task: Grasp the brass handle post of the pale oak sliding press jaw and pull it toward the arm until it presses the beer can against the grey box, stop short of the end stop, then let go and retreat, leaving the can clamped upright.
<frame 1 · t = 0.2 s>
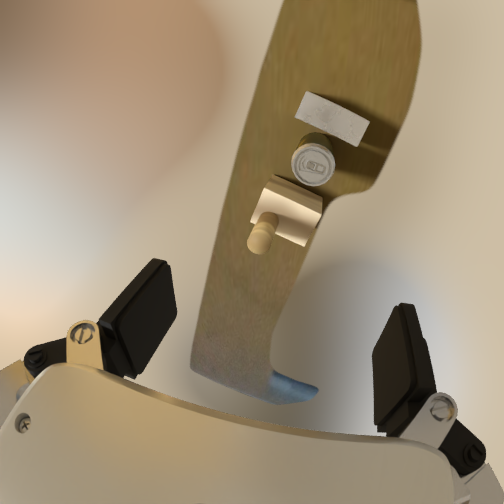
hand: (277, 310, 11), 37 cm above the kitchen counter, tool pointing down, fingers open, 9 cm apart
ram: (285, 218, 41), point 7 cm above the kitchen counter, slide at 0.0 cm
grey box: (331, 115, 38), on the kitchen counter
beer can: (315, 148, 42), on the kitchen counter
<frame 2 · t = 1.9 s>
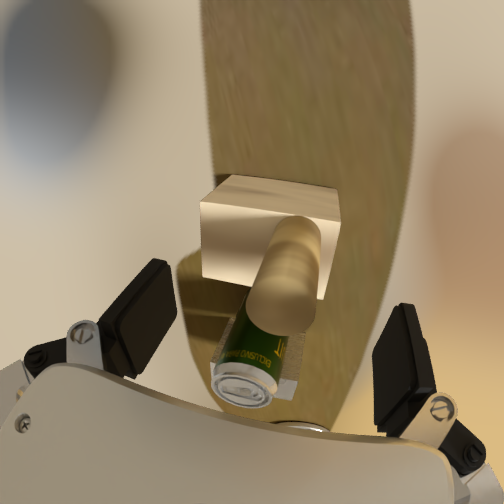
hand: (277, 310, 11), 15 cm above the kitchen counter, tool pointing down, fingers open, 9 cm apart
ram: (264, 252, 19), point 7 cm above the kitchen counter, slide at 0.0 cm
grey box: (266, 336, 33), on the kitchen counter
beer can: (271, 298, 30), on the kitchen counter
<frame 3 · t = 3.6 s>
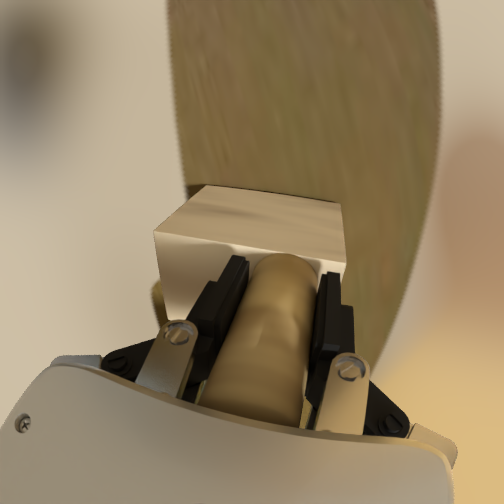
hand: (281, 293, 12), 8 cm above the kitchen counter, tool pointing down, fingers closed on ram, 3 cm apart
ram: (241, 298, 14), point 7 cm above the kitchen counter, slide at 0.0 cm, touching gripper
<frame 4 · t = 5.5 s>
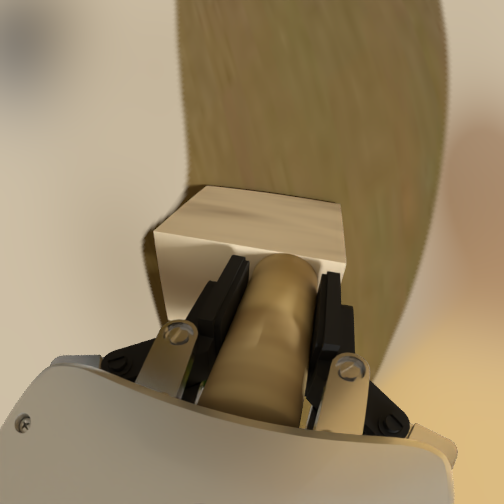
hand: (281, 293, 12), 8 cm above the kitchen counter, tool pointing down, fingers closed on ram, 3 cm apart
ram: (241, 298, 14), point 7 cm above the kitchen counter, slide at 5.5 cm, touching beer can, gripper
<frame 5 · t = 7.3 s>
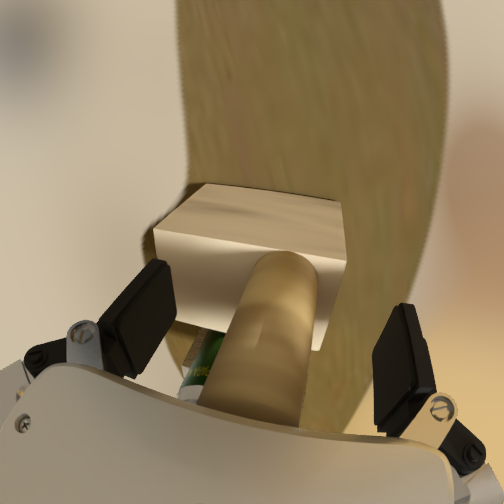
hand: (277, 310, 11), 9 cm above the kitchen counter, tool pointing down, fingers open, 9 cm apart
ram: (241, 296, 14), point 7 cm above the kitchen counter, slide at 5.5 cm
grey box: (259, 331, 25), on the kitchen counter
beer can: (264, 290, 23), on the kitchen counter
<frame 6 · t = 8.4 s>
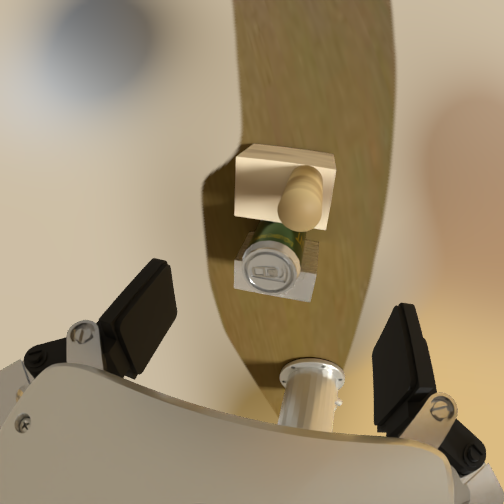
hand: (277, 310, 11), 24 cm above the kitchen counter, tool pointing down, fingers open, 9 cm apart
ram: (282, 193, 26), point 7 cm above the kitchen counter, slide at 5.5 cm
grey box: (282, 249, 37), on the kitchen counter
beer can: (286, 215, 35), on the kitchen counter
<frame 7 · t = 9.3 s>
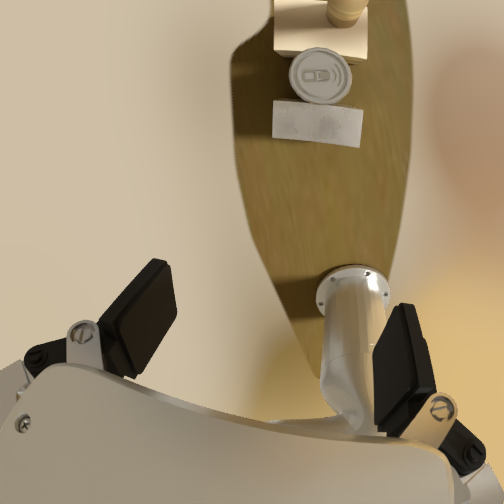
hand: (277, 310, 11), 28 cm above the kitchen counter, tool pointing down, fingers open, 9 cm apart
ram: (321, 25, 19), point 7 cm above the kitchen counter, slide at 5.5 cm
grey box: (317, 116, 31), on the kitchen counter
beer can: (319, 79, 29), on the kitchen counter
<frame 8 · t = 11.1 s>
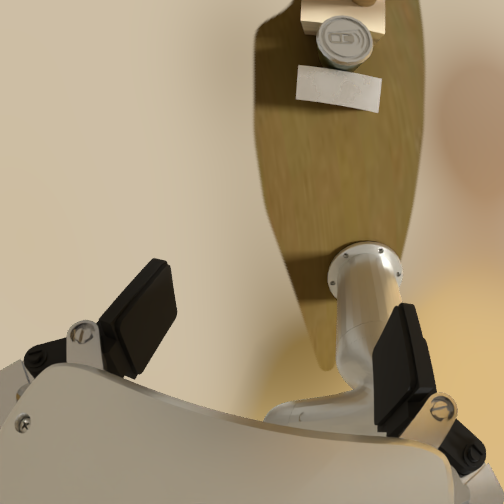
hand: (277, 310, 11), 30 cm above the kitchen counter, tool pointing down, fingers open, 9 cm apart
ram: (343, 3, 19), point 7 cm above the kitchen counter, slide at 5.5 cm
grey box: (336, 89, 31), on the kitchen counter
beer can: (338, 57, 28), on the kitchen counter
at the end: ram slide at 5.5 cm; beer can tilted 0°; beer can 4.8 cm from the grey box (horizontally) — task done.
